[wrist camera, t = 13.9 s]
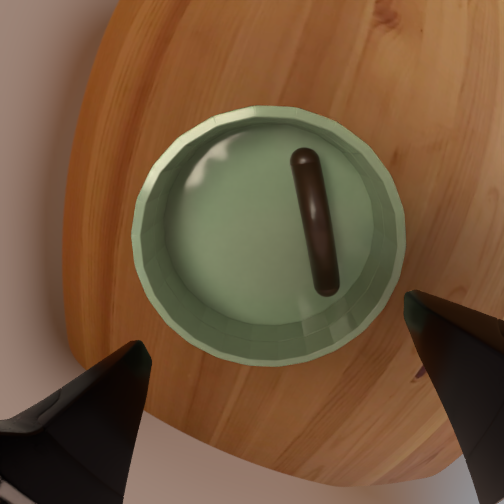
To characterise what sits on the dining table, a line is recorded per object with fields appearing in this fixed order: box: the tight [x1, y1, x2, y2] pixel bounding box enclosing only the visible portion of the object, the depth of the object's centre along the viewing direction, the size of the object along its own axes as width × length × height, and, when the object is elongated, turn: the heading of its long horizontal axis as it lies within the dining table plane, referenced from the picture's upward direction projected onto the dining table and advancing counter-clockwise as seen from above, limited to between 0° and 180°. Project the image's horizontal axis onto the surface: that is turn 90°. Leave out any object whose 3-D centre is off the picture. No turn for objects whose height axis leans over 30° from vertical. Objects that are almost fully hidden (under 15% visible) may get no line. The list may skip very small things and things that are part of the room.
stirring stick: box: [290, 147, 340, 297], centre depth 17 cm, size 10×2×2 cm, turn 14°
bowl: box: [131, 105, 406, 367], centre depth 17 cm, size 15×15×4 cm
